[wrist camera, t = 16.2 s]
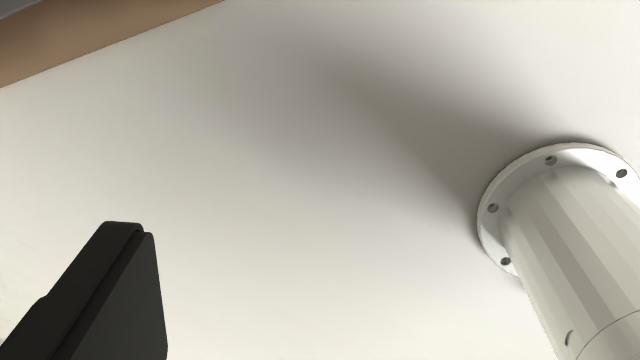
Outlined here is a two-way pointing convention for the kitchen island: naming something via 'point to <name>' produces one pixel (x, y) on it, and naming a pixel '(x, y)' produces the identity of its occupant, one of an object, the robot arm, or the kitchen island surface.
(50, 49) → the holder
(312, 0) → the kitchen island surface
